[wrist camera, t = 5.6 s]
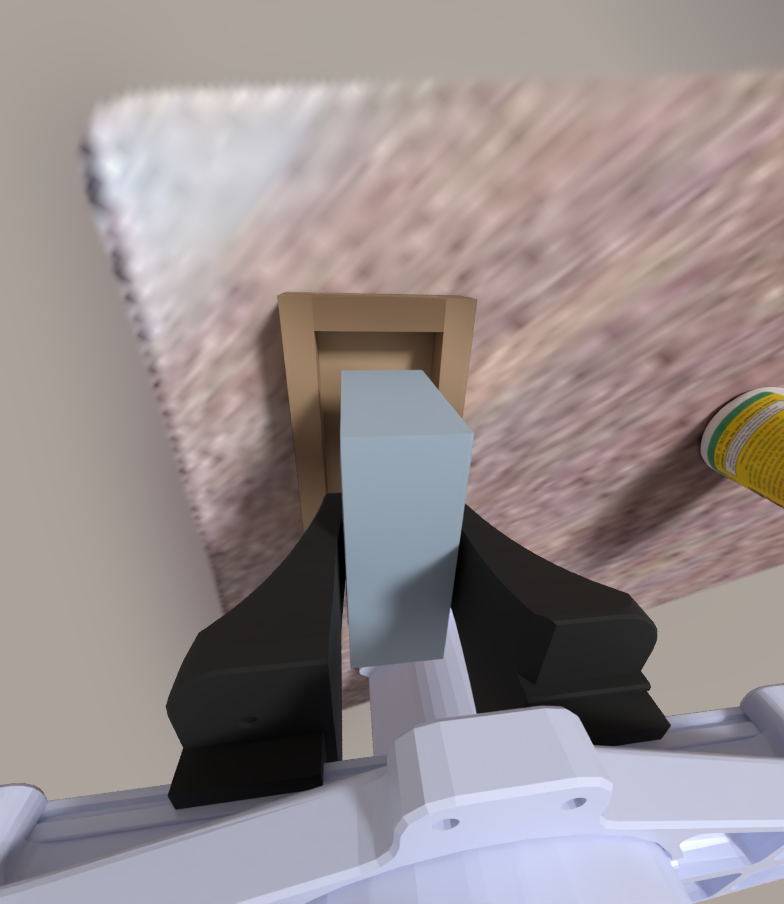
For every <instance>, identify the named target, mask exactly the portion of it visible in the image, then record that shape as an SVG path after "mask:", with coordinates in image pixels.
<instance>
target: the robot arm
mask: <svg viewBox="0 0 784 904" xmlns="http://www.w3.org/2000/svg"><path fill="white" fill-rule="evenodd" d="M345 580H346V575H345V554H344V533H343V511H342V493H327V494H326V495H325V496H324V498H323V501H322V503H321V505H320V507H319V509H318V511H317V513H316V515H315V517H314V519H313V520H312V522H311V524H310V525H309V527H308V529H307V530H306V532H305V533H304V535H303V536H302V537H301V539H300V540H299V542H298V543H297V545H296V546H295V547H294V549H293V550H292V551H291V552H290V554H289V555H288V556H287V557H286V559H285V560H284V561H283V562H282V563H281V564H280V566H279V567H278V568H277V569H276V570H275V571H274V572H273V573H272V574H271V575H270V576H269V577H268V578H267V579H266V580H265V581H264V582H263V583H262V584H261V585H260V586H259V587H258V588H257V589H256V590H255V591H253V592H252V593H251V594H250V595H249V596H248V597H246V598H245V599H244V600H243V601H242V602H241V603H239V604H238V605H237V606H236V607H235V608H233V609H232V610H231V611H229V612H228V613H227V614H225V615H224V616H222V617H221V618H219V619H218V620H217V621H215V622H214V623H213V624H211V625H210V626H208V627H207V628H206V629H204V630H202V631H201V632H199V633H198V635H197V637H196V639H195V641H194V643H193V644H192V646H191V648H190V650H189V652H188V653H187V655H186V657H185V659H184V661H183V663H182V665H181V667H180V670H179V672H178V675H177V677H176V679H175V682H174V684H173V687H172V689H171V692H170V694H169V697H168V701H167V704H166V709H167V714H168V717H169V719H170V721H171V723H172V725H173V728H174V730H175V732H176V734H177V736H178V738H179V740H180V742H181V744H182V746H183V750H182V754H181V756H180V759H179V762H178V766H177V769H176V771H175V775H174V777H173V780H172V784H168V785H160V786H153V787H146V788H138V789H131V790H124V791H117V792H109V793H102V794H95V795H87V796H80V797H73V798H65V799H58V800H51V801H47V798H46V796H45V794H44V793H43V791H42V790H41V789H40V788H38V787H36V786H35V785H31V784H26V783H12V784H5V785H0V904H694V903H697V902H701V901H704V900H708V899H711V898H715V897H718V896H722V895H725V894H729V893H732V892H736V891H739V890H743V889H746V888H750V887H753V886H757V885H760V884H764V883H768V882H771V881H774V880H778V879H782V878H784V683H782V684H775V685H767V686H762V687H758V688H756V689H754V690H752V691H750V692H749V693H748V694H747V695H746V696H745V697H744V698H743V700H742V701H741V703H740V706H739V707H732V708H724V709H717V710H710V711H702V712H695V713H688V714H680V715H673V716H666V717H665V716H664V714H662V712H661V710H660V709H659V708H658V706H657V705H656V703H655V702H654V701H653V699H652V698H651V696H650V695H649V694H648V692H647V691H649V690H650V688H651V686H650V683H649V682H648V680H647V679H646V677H645V676H644V675H643V673H642V672H641V670H642V668H643V666H644V664H645V663H646V661H647V659H648V657H649V656H650V654H651V652H652V651H653V649H654V646H655V644H656V641H657V628H656V626H655V624H654V622H653V621H652V620H651V619H650V618H649V617H648V615H647V614H646V613H645V612H644V611H643V610H642V609H641V607H640V606H639V605H638V604H637V603H636V602H635V601H634V599H633V598H632V597H631V596H630V595H629V594H628V593H625V592H622V591H619V590H616V589H614V588H611V587H608V586H605V585H602V584H600V583H597V582H594V581H591V580H589V579H587V578H584V577H582V576H580V575H577V574H575V573H573V572H570V571H568V570H566V569H564V568H562V567H559V566H557V565H555V564H553V563H551V562H549V561H547V560H546V559H544V558H542V557H540V556H538V555H536V554H534V553H533V552H531V551H529V550H527V549H526V548H524V547H523V546H521V545H519V544H518V543H516V542H514V541H513V540H511V539H510V538H508V537H507V536H505V535H504V534H503V533H501V532H500V531H499V530H497V529H496V528H494V527H493V526H492V525H490V524H489V523H488V522H487V521H485V520H484V519H483V518H482V517H480V516H479V515H478V514H477V513H476V512H474V511H473V510H472V509H471V508H470V507H469V506H467V505H466V504H465V506H464V513H463V521H462V528H461V535H460V542H459V549H458V557H457V564H456V571H455V578H454V585H453V593H452V600H451V607H450V614H449V621H448V629H447V636H446V643H445V650H444V657H443V659H438V660H428V661H419V662H409V663H400V664H391V665H381V666H372V667H362V668H359V673H360V674H361V675H363V676H366V677H369V689H370V705H371V720H372V737H373V752H374V756H373V757H367V758H358V759H351V760H344V761H342V669H341V629H342V613H343V602H344V591H345Z"/></svg>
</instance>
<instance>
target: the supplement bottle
mask: <svg viewBox="0 0 784 904" xmlns="http://www.w3.org/2000/svg"><path fill="white" fill-rule="evenodd" d="M701 455H702V457H703V459H704V461H705V463H706V464H707V465H708V466H709V467H710V468H712V469H713V470H715V471H717V472H718V473H720V474H722V475H724V476H726V477H727V478H729V479H731V480H732V481H734V482H736V483H738V484H740V485H742V486H744V487H745V488H747V489H749V490H751V491H753V492H755V493H756V494H758V495H760V496H762V497H763V498H765V499H767V500H769V501H771V502H773V503H775V504H776V505H778V506H780V507H782V508H784V389H783V388H778V387H764V388H759V389H755V390H752V391H749V392H746V393H744V394H742V395H740V396H739V397H737V398H736V399H734V400H733V401H731V402H730V403H728V404H727V405H725V406H724V407H723V408H722V409H721V410H720V411H719V412H718V413H717V414H716V415H715V416H714V417H713V418H712V419H711V421H710V422H709V424H708V425H707V427H706V429H705V431H704V434H703V437H702V441H701Z"/></svg>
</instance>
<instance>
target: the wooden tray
mask: <svg viewBox="0 0 784 904" xmlns="http://www.w3.org/2000/svg"><path fill="white" fill-rule="evenodd" d="M277 298H278V307H279V316H280V325H281V334H282V343H283V352H284V361H285V370H286V378H287V387H288V396H289V405H290V414H291V423H292V432H293V441H294V450H295V459H296V468H297V476H298V485H299V494H300V503H301V512H302V521H303V530H304V533H305V532H306V530H307V529H308V527H309V525H310V524H311V522H312V520H313V519H314V517H315V515H316V513H317V511H318V509H319V507H320V505H321V503H322V501H323V498H324V496H325V495H326V494H327V493H342V490H341V469H340V425H341V370H422V371H423V372H424V373H425V374H426V375H427V377H428V378H429V379H430V380H431V381H432V383H433V384H434V385H435V386H436V388H437V389H438V390H439V391H440V392H441V394H442V395H443V396H444V397H445V398H446V400H447V401H448V402H449V403H450V405H451V406H452V407H453V408H454V409H455V411H456V412H457V413H458V414H459V415H460V417H461V418H463V410H464V402H465V394H466V386H467V378H468V370H469V362H470V354H471V346H472V338H473V330H474V322H475V314H476V305H477V299H473V298H469V297H464V296H455V295H406V294H357V293H308V292H285V293H282V294H280V295H277Z"/></svg>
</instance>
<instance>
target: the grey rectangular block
mask: <svg viewBox="0 0 784 904" xmlns="http://www.w3.org/2000/svg"><path fill="white" fill-rule="evenodd" d="M473 441H474V432H473V431H472V430H471V429H470V428H469V426H468V425H467V424H466V423H465V422H464V420H463V419H462V418H461V417H460V415H459V414H458V413H457V412H456V411H455V409H454V408H453V407H452V406H451V405H450V403H449V402H448V401H447V400H446V398H445V397H444V396H443V395H442V394H441V392H440V391H439V390H438V389H437V388H436V386H435V385H434V384H433V383H432V381H431V380H430V379H429V378H428V377H427V375H426V374H425V373H424V372H423V371H422V370H341V425H340V469H341V490H342V511H343V533H344V554H345V575H346V597H347V618H348V625H349V642H350V664H351V669H353V668H362V667H372V666H381V665H391V664H400V663H409V662H419V661H428V660H438V659H443V657H444V650H445V643H446V636H447V629H448V621H449V614H450V607H451V600H452V593H453V585H454V578H455V571H456V564H457V557H458V549H459V542H460V535H461V528H462V521H463V513H464V506H465V499H466V492H467V485H468V477H469V470H470V463H471V456H472V449H473Z"/></svg>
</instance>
